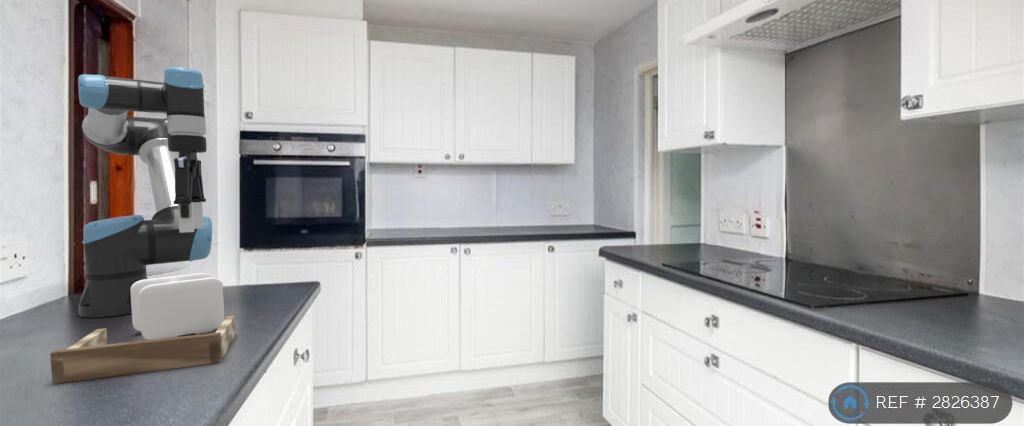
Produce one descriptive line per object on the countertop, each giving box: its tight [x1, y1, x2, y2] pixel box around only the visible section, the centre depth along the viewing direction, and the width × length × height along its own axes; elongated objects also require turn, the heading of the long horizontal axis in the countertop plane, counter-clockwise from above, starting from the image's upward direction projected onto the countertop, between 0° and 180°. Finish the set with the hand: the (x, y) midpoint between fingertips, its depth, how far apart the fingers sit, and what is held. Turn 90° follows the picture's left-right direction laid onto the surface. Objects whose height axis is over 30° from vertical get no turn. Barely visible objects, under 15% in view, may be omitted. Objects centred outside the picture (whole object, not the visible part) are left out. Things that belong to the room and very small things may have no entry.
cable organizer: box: [130, 272, 225, 340], centre depth 101 cm, size 15×11×12 cm
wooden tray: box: [50, 315, 237, 385], centre depth 87 cm, size 16×23×5 cm
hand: (192, 230), depth 113 cm, fingers open, 9 cm apart
